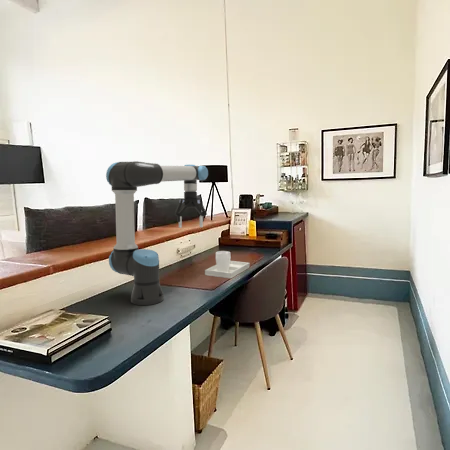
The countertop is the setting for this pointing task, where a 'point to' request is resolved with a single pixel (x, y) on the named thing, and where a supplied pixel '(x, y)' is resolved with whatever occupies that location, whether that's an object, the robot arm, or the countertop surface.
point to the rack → (233, 270)
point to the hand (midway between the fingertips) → (190, 227)
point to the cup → (223, 261)
